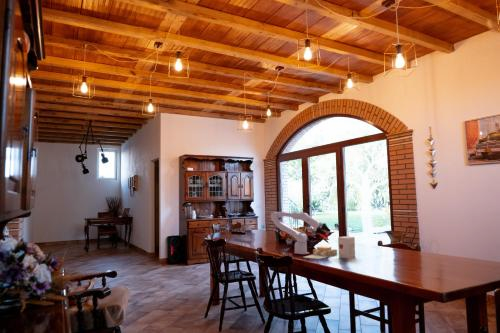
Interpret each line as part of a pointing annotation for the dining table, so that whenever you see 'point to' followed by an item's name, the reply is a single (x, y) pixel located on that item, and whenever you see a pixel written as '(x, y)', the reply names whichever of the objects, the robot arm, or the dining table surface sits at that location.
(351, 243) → the supplement box
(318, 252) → the deck
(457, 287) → the dining table surface
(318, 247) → the card
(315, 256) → the mat
